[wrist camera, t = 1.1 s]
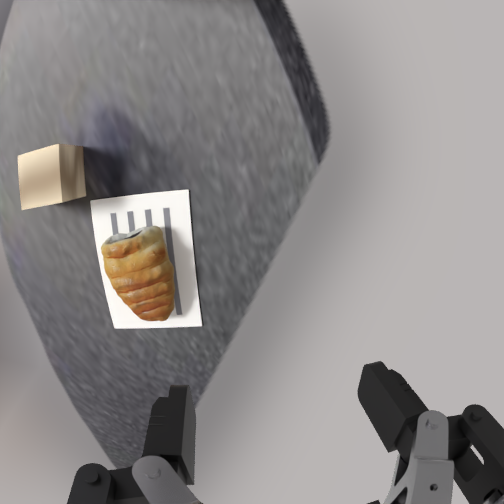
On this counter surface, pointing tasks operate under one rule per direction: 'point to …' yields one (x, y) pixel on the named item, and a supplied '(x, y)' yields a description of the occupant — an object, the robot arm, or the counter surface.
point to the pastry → (141, 272)
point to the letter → (177, 242)
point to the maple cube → (51, 175)
